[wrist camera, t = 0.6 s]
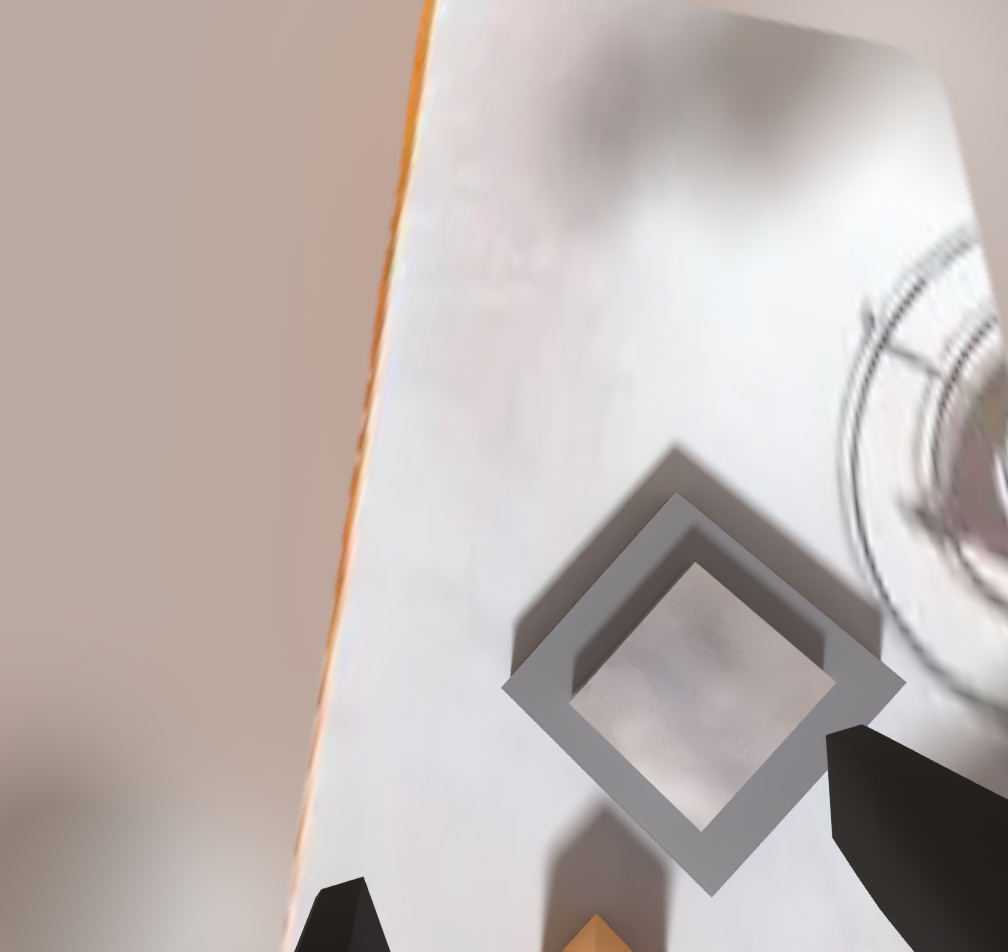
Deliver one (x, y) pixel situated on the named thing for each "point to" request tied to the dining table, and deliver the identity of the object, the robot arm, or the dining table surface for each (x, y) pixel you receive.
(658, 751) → the panel
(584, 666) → the socket plate
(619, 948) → the plug
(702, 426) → the dining table surface
